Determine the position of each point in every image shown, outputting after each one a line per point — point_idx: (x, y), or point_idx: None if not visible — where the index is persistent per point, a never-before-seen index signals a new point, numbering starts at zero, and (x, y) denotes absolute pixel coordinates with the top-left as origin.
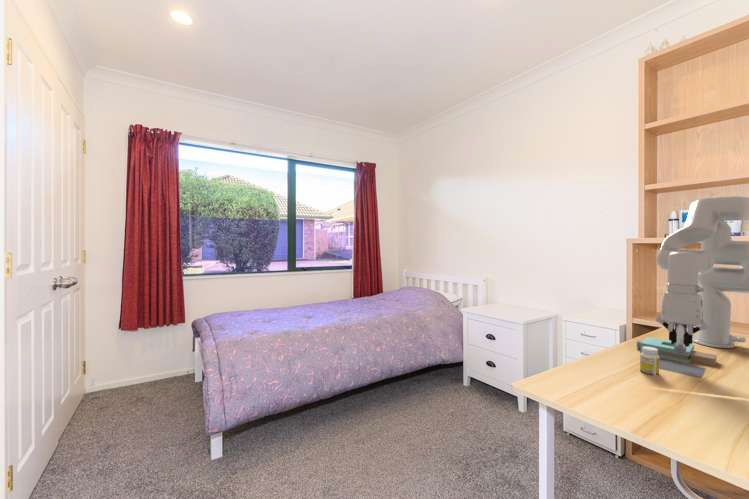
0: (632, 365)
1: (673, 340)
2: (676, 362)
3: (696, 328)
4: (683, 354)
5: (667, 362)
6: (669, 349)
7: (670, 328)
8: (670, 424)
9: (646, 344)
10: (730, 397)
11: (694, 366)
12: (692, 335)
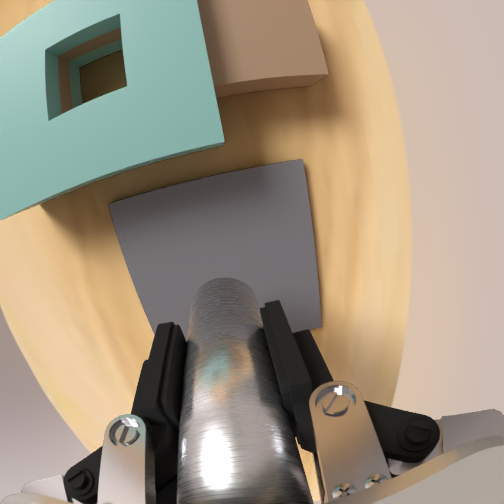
0: (121, 372)
1: None
2: (180, 192)
3: (397, 471)
4: (193, 149)
5: (159, 240)
6: (115, 170)
7: (169, 485)
8: (313, 487)
9: (19, 209)
10: (382, 374)
11: (259, 179)
12: (331, 381)
